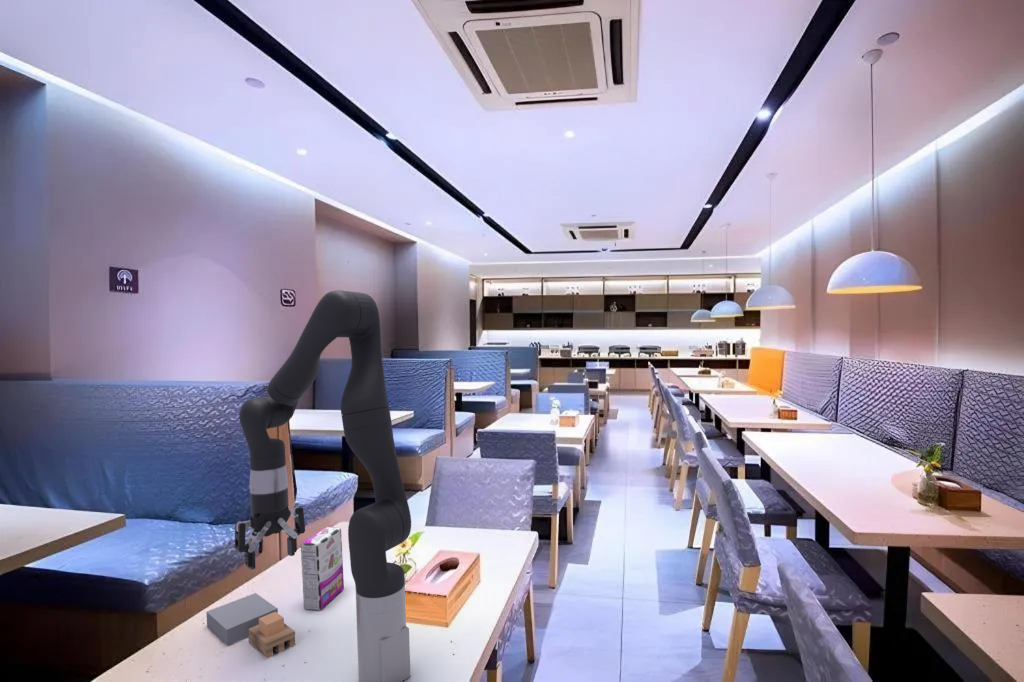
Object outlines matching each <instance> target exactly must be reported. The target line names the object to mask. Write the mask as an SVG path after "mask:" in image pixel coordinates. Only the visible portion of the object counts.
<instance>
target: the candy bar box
mask: <svg viewBox="0 0 1024 682" xmlns="http://www.w3.org/2000/svg"><path fill="white" fill-rule="evenodd" d="M300 555H301V557H300V558H301V573H302V576H301V577H302V594H303V595H302V596H303V598H302V599H303V609H304V610H305V611H323V609H325V608H326V607H327V606H326V605H329V604H330V603H331V602H333V600H334V599H335V598H336V597H337V596H339V594H340V593H341V592H342V591H343V590H344V589H345V585H344V583H345V581H344V580H345V579H344V567H343V566H344V565H343V564H344V562H343V540H342V527H339V526H338V527H335V526H331V527H330V526H325V527H324V528H322V529H321V530H319V531H317V532H316V533H315V534H313V535H312V536H310V537H309V538H307V539H305V540H304V541H303V542H301V543H300Z"/></svg>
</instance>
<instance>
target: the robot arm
mask: <svg viewBox="0 0 1024 682" xmlns="http://www.w3.org/2000/svg"><path fill="white" fill-rule="evenodd" d="M316 304H317V305H316V306H315V308H314V310H313V311H312V313H311V316H310V317H309V319H308V321H307V323H306V325H305V327H304V329H303V330H302V332H301V334H300V337H299V338H298V341H297V342H296V345H295V346H294V348H293V349H292V351H291V353H290V355H289V356H288V358H287V359H286V361H285V362H284V363H283V364H282V365H281V366H280V368H279V369H278V371H276V373H275V374H274V375H273V376H272V378H271V379H270V380H269V382H268V385H267V394H268V395H267V396H261V397H254V398H250V399H249V398H248V399H247V400H245V401H244V403H243V404H242V405H241V407H240V409H239V414H238V415H239V418H238V419H239V423H240V426H241V429H242V432H243V435H244V438H245V440H246V443H247V444H246V445H247V446H248V450H249V460H250V461H249V463H250V464H249V465H250V467H249V468H250V475H249V487H248V488H249V493H250V495H249V496H250V518H249V519H248V520H244V521H241V520H237V521H236V522H235V523H234V549H235V550H236V551H238V552H239V553H244V564H245V566H246V567H247V568H248V569H250V570H255V569H256V551H254V550H255V549H256V547H257V545H258V544H259V543H260V542H261V541H262V539H263V538H264V537H266V538H267V537H270V536H272V535H274V534H280V533H281V531H282V532H283V533H284V534H286V535H287V538H286V548H287V549H286V550H287V555H288V556H289V557H293V556H295V555H296V553H297V550H298V546H297V545H298V542H297V541H298V539H297V538H298V537H299V536H300V535H301V534H305V532H306V523H305V515H304V508H303V507H302V506H299V505H294V506H293V507H292V508H289V506H290V504H289V501H290V500H289V484H288V483H289V482H288V481H289V480H288V479H289V478H288V470H287V466H286V465H287V464H286V463H287V462H286V461H287V460H286V446H285V442H284V440H282V439H280V438H271V437H270V436H269V433H268V430H269V429H274V428H279V427H281V426H284V425H285V424H287V423H288V422H289V421H290V420H291V419H292V418H293V416H294V414H295V411H296V409H297V406H298V404H299V401H300V398H301V397H303V395H304V394H305V393H306V391H308V389H309V388H310V387H311V386H312V384H313V383H314V382H315V380H316V378H317V375H318V374H319V369H320V361H321V359H320V358H321V356H322V353H323V352H324V350H325V349H326V348H327V347H328V346H329V345H330V344H331V343H332V342H333V341H335V340H336V339H337V338H348V341H349V345H350V355H351V364H350V372H349V375H348V378H347V381H346V384H345V386H344V390H343V393H342V397H341V401H340V414H341V420H342V428H343V435H344V437H345V442H346V443H347V445H348V448H350V450H351V451H352V452H353V454H354V455H355V457H356V458H357V459H358V460H359V461H360V463H361V464H362V465H363V466H364V468H365V470H366V471H367V472H368V475H369V477H370V480H371V483H372V487H373V492H374V498H375V499H374V500H375V502H374V503H371V504H369V505H365V506H364V507H361V508H359V509H357V510H355V511H354V512H353V513H352V514H351V517H350V519H349V522H348V529H347V535H348V536H347V538H348V548H349V550H348V551H349V560H350V571H351V575H352V578H353V580H354V583H355V609H356V610H355V612H356V613H355V614H356V638H357V639H356V640H357V641H356V643H357V669H358V682H401V681H402V682H404V681H405V680H407V679H408V678H410V677H411V651H410V649H411V647H410V628H409V627H408V626H407V613H406V612H407V611H406V610H407V609H406V580H405V578H406V575H405V571H404V568H403V567H402V566H401V565H400V564H398V563H394V562H390V561H389V562H388V561H387V551H389V550H391V549H394V548H396V547H398V546H400V545H401V544H403V543H404V542H405V541H406V540H407V539H408V538H409V536H410V535H411V531H412V517H411V511H410V510H411V509H410V506H409V502H408V499H407V498H408V497H407V495H406V491H405V487H404V483H403V480H402V475H401V471H400V467H399V462H398V457H397V450H396V444H395V439H394V432H393V423H392V417H391V411H390V405H389V401H388V395H387V390H386V389H387V387H386V381H385V373H384V364H383V358H382V357H383V355H382V341H381V340H382V338H381V319H380V312H379V309H378V308H379V307H378V306H377V303H376V301H375V300H374V298H373V297H372V296H370V295H369V294H367V293H364V292H360V291H358V292H357V291H348V290H341V289H340V290H339V289H338V290H330V291H329V292H327V293H325V294H324V295H322V297H321V299H319V301H318V303H316ZM290 517H291V518H293V521H294V528H292V526H291V525H289V524H288V523H287V522H288V520H289V518H290ZM250 527H251V528H252V530H251V532H250V533H249V536H248V539H247V540H246V532H248V531H249V528H250ZM403 680H404V681H403Z"/></svg>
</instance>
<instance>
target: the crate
mask: <svg viewBox="0 0 1024 682" xmlns="http://www.w3.org/2000/svg"><path fill="white" fill-rule="evenodd" d="M284 619H285V618H284V617H283V616H282V615H281V614H279V613H277V612H273V613H271V614H269V615H266V616H264V617H261V618H259V631H260V632H261V633H263V634H264V635H265V636H266V637H269V636H271V635H273V634H276V633H278V632H280V631H282V630H284V623H285V620H284Z"/></svg>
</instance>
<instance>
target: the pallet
mask: <svg viewBox="0 0 1024 682" xmlns="http://www.w3.org/2000/svg"><path fill="white" fill-rule="evenodd" d="M248 630H249V637H248V643H249V645H250V646H252V647H253V648H254V649H255V650H256V651H258V653H260V654H261V655H262V656H263V657H264V658H265V659H270V658H272V657H274V651H275V652H277V653H278V654H280V653H282V652H284V651H285V645H286V646H287V647H289V648H292V647H294V645H295V646H296V630H294V629H293V628H291V627H290V626H289V625H287V623H285V622H284V630H282V631H280V632H278V633H276V634H273V635H271V636H269V637H266V636H265V635H264V634H263V633H261V632H260V631H259V625H257V626H254V627H252V628H250V629H248Z"/></svg>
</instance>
